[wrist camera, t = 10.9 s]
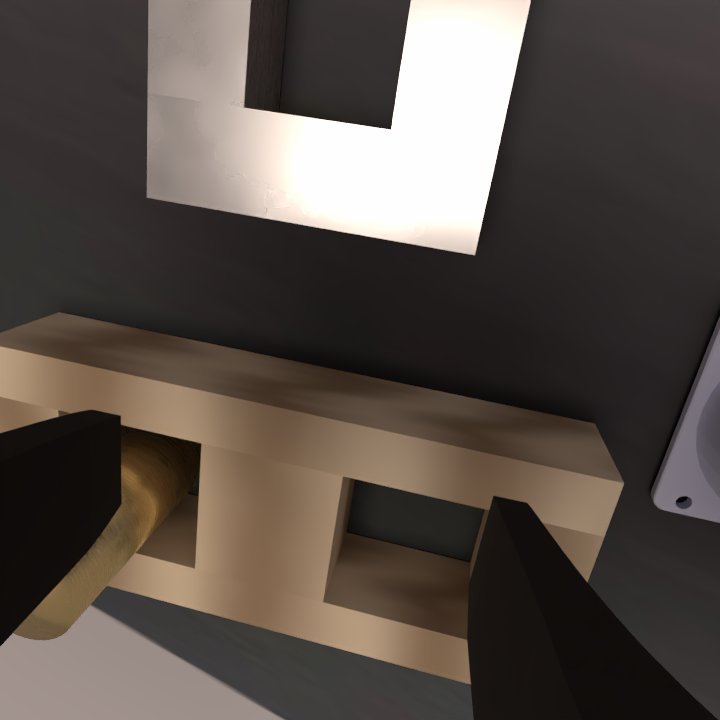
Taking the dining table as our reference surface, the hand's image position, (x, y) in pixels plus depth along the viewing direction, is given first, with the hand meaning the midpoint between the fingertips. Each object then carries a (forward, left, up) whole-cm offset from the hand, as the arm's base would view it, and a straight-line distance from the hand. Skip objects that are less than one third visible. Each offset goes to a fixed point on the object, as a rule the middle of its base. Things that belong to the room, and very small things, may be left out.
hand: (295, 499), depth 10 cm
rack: (+2, +6, -10) cm, 12 cm away
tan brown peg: (+7, +6, -10) cm, 14 cm away
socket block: (+2, -9, -10) cm, 14 cm away
